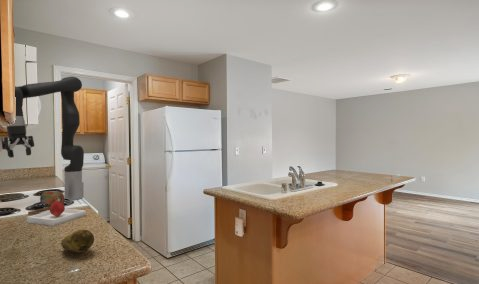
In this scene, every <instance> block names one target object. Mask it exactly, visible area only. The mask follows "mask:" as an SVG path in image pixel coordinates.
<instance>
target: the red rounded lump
mask: <svg viewBox="0 0 479 284" xmlns="http://www.w3.org/2000/svg"><path fill="white" fill-rule="evenodd" d="M65 209H66V206H65V204H64V203H62V202H60V201H59V200H56V201H55V202H54V203H53V204H52V205H51V206H50V210H49V211H50V213H51V214H52V215H54V216H56V217H58V216H60V215H61V214H62V213H63V212H64V210H65Z"/></svg>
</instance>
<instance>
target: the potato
mask: <svg viewBox="0 0 479 284" xmlns="http://www.w3.org/2000/svg"><path fill="white" fill-rule="evenodd" d="M94 242H95V236H94V234H93V232H92V231H90V230H88V229H78V230H74V231H73V232H72V233H71V234H70V233H69V235H67V236H65V237H63V238H62V240H61V243H60V245H61V248H62V249H64V250H66V251H69V252H72V253H77V254H78V253H83V252H86V251H88V250H89V249H90V248H91V247H92V246H93V245H94Z"/></svg>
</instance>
